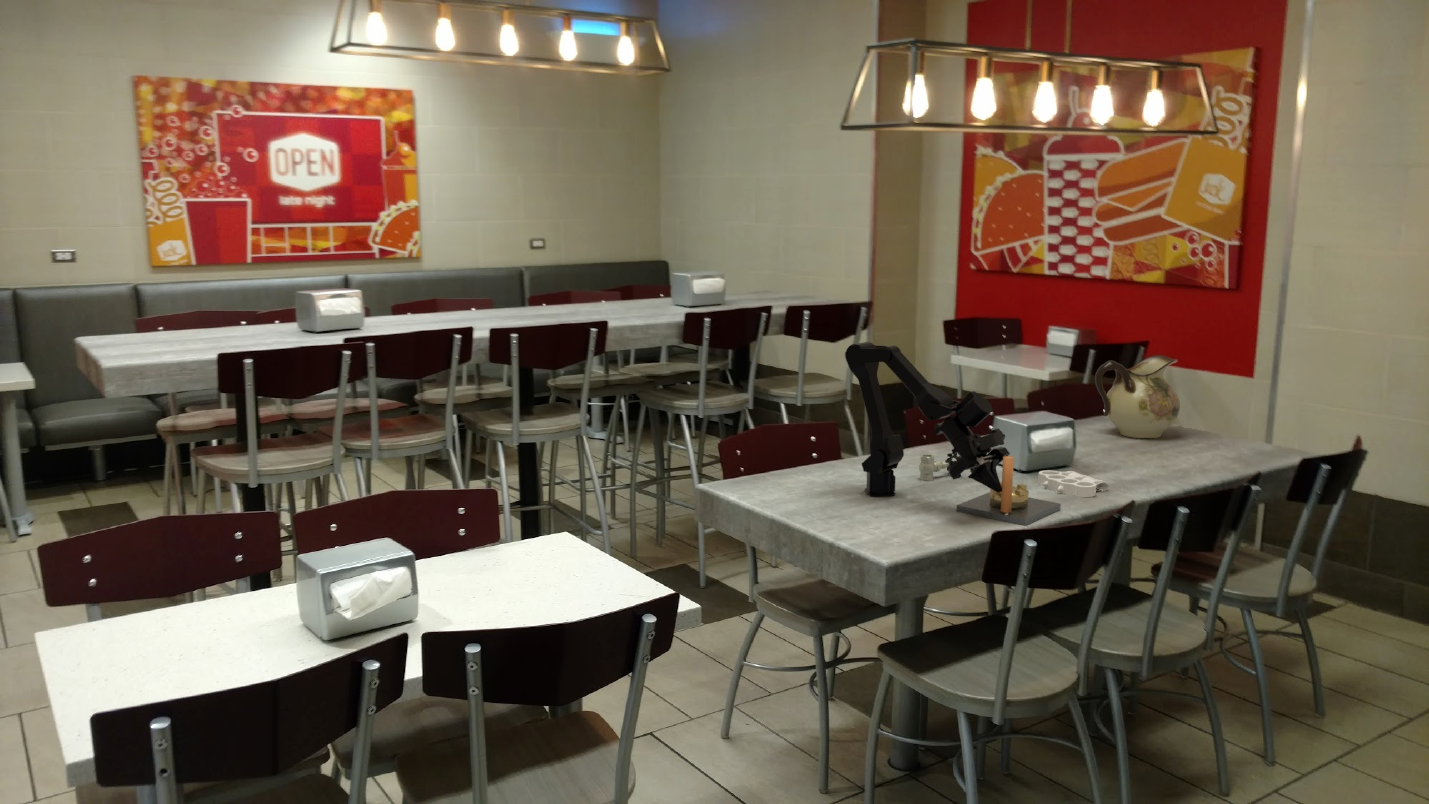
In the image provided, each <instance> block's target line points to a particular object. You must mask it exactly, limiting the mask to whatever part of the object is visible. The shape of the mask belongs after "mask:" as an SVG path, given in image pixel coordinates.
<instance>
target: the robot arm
mask: <svg viewBox="0 0 1429 804" xmlns="http://www.w3.org/2000/svg"><path fill="white" fill-rule="evenodd" d="M844 358H845V361H846V363H847V365H848V368H849V370H850V372H851V373H852V374H853V375H854V376H855V377H856V378H857V381H858V384H859V387H860V392H861V395H862V400H863V404H864V407H865V408H864V409H865V412H866V416H867V419H868V420H867V421H868V424H869V427H870V432H871V437H870V442H869V453H870V455H869V456H868V457H866V459H865V460H864V461H863V462H861V467H862V470H863V472H865V473H866V487H865V488H864V491H865V492H866V493H867V495H868V496H870V497H889V496H890V497H891V496H892V497H893V496H896V493H895V491H896V475H894V472H895V471H894V469H897V468H898V466H899V463H900V462H901V461H902V459H903V457H904V455H905V453H904V450H905V449H906V447H905V446H904V444H903V439H902V435H901V433H898V434H895V432H894V431H893V430H892V428H891V425H890V421H889V417H888V414H887V409H886V406H885V402H884V397H883V394H882V390H881V386H880V381H879V379H878V371H879V366H880V363H884V364H885V365H886V366H887V367H888V368H889V369H890V370H891V371H892V373H893V374H894V375H895V376H896V377H897V379H899V380H900V382H901V383H902V384H903V385H904V386H905V387H906V388H907V389H908V390H909V392H910V393H912V395H913V396H914V398H915V400H916V405H917V408H919V410H920V411H921V414H922V415H923V416H924V417H925V418H926V419H927V420H929V421H938V420H941V419H944V420H943V421H942V422H938V423H934V429H933V435H934V436H938V435H942V434H943V435H944V437H945V438H946V439H947V441H948V442H949V444H950V445H951V446H952V449H951V453H952V452H953V454H955V453H957V455H958V456H960V457H961V458H960V459H959V460H958V461H957V460H956V461H957V462H955V463H954V464H953V465H952V466H951V467H950V468H949V471H948V475H950V477H951V479H952V480H954V481H955V480H958V479H961V477H962V473H963V472H965V471H966V470H969V472H970V474H968V476H967V477H968V479H972V480H974V481H976V482H977V483H979V484H982V485H983V486H985V487H987V488H989V490H990V489H992V490H994V491H996V492H998V493H1000V492H1001V491H1002V487H1001V484H1000V482H1001V481H1000V478H999V475H998V471H997V466H998V465H999V464H1000V463H1003V457H1004V456H1010V455H1011V453H1010V451H1009V450H1008V449H1007V448H1006V447H1004V446H1003V445H1005V439H1006V434H1004V433H1003V431H1002V430H1001V429H1000V427H998V428H994V429H991V430H990V431H989V434H986V435H983V436H981V435H980V434H978V433H975V434H974V432H973V431H972V430H971V429H970V428H969V427H971V428H975V427H977V426H978V425H979V424H980V423H982V421H984V420H985V419H986V418H987V417H988V416H989V415H990V414H991V413H992V412H993V406H992V404H991V403H990V401H989V400H988V399H986V398H985V397H984V396H982V395H980V394H978V393H977V392H976V391H974V390H973V391H970V392H969V393H967V395H966V396H965V397H964V398H963V399H962V400H961V401H957V400H955V399H953V398H952V397H951V396H950V395H949V394H947V393H946V392H945V391H943V390H942V389H941V388H939V387H936V386H935V385H933V384H932V383H930V382H929V380H927V379H926V378H925V376H924V375H923V374H921V372H920V371H919V370H918V369H917V367H915V366H914V365H913V363H911V362H910V360H909V359H908V358H907V357H906V356H905V354H903V353H902V350H901V349H900V348H899V347H898V346H897V345H892V344H891V345H875V344H874V343H872V342H870V341H864V342H858V343H853V344H850V345H849V346H848V347H847V348H846V351H844ZM953 414H954V415H953ZM951 415H953V416H951ZM992 448H993V449H992ZM953 454H952V455H953Z"/></svg>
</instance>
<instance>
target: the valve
mask: <svg viewBox="0 0 1429 804" xmlns="http://www.w3.org/2000/svg"><path fill="white" fill-rule="evenodd" d="M946 455H947V458H946V459H945V461H941V462H940V461H939V460H935V456H934V455H933V454H929V453H927V454H925V453H924V454H921V455H920V458H919V459H920V460H919V462H920V463H919V465H918V470H919V479H920V481H924V482H929V481H934V472H935V473H938V472H940V471H941V470H943V469H946V471H947V472H949V468H950V467H951V466H952V465H953V464H954V463H955V462H957V461H958V460H959V459H960V458H961V457H960V456H959V455H958V453H955V454H953V452H952V451H951V452H950V453H947V454H946ZM953 459H955V460H953Z"/></svg>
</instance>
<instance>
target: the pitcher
mask: <svg viewBox="0 0 1429 804" xmlns="http://www.w3.org/2000/svg"><path fill="white" fill-rule="evenodd" d="M1177 362H1178V358H1174V359H1173V358H1171V357H1169V356H1167V355H1162V354H1160V355H1159V354H1154V355H1152V356H1148V357H1146V358H1144V359H1143V360H1142V361H1141V360H1140V361H1139V362H1138V363H1136V364H1135V365H1133V366H1132V367H1129V368H1126V367H1125V366H1124V365H1123V364H1121V363H1119V362H1117V361H1115V360H1108V361H1106V362H1104V363H1103V364H1101V365H1100V366H1099V367H1098V369H1096V372H1095V376H1094V383H1095V387H1096V389H1097V391H1098V393H1099V395H1100V396H1101V398H1102V402H1103V404H1104V405H1103V406H1104V411H1103V416H1104V417H1107V418H1108V420H1109V421H1110V422H1111V423H1112V425H1114V427H1116V428H1117V429H1118V431H1119V434H1120V435H1121V436H1124V437H1128V438H1132V439H1140V438H1154V439H1158V438H1160V437H1162V434H1163V433H1164V432H1165V431H1166V430H1167V429H1168V428H1170V426H1172V425H1173V423H1174V422H1175V421H1176V419H1177V418H1178V416H1179V413H1180V408H1181V402H1180V398H1179V395H1178V394H1177V392H1176V391H1175V389H1174V388H1173V387H1172V386H1171V385H1170V384H1169V383H1168V382H1167V381H1166V379H1165V377H1164V373H1165V371H1166V369H1167V368H1168V367H1169V366H1170V365H1173V364H1176V363H1177ZM1113 370H1114V372H1115V379H1114V381H1113V382H1112V387H1111V388H1110V389H1109V390H1108V391H1107V393H1106V391H1105V389H1104V386H1103V376H1104V374H1106V373H1107V371H1113Z"/></svg>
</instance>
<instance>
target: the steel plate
mask: <svg viewBox="0 0 1429 804" xmlns="http://www.w3.org/2000/svg"><path fill="white" fill-rule="evenodd" d="M1060 510H1061V503H1060V502H1054V501H1049V500H1043V499H1039V498H1033V497H1029V496H1028V506H1026V507H1023V508H1011V512H1008V513H1007V512H1001V507H998V506H994V505H992V504H991V503H990V491H989V492H986V493H984V494H981V495H979V496H976V497H974V498H971V499H968V500H966V501H963V502H961V503H958V504H956V512H959V513H963V514H969V515H973V516H978V517H983V518H988V519H991V520H992V519H993V520H997V521H1002V522H1007V523H1010V524H1011V523H1012V524H1016V525H1020V526H1025V527H1026V526H1027V525H1030V524H1031V523H1034V522H1036V521H1038V520H1040V519H1043V518H1045V517H1047V516H1049V515H1052V514H1054V513H1056V512H1058V511H1060ZM1055 511H1056V512H1055Z"/></svg>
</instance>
